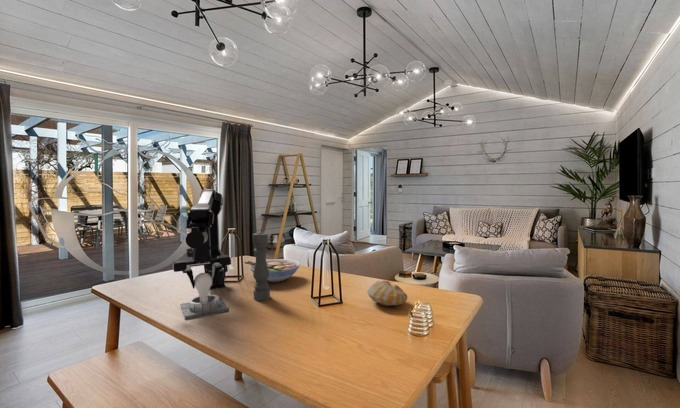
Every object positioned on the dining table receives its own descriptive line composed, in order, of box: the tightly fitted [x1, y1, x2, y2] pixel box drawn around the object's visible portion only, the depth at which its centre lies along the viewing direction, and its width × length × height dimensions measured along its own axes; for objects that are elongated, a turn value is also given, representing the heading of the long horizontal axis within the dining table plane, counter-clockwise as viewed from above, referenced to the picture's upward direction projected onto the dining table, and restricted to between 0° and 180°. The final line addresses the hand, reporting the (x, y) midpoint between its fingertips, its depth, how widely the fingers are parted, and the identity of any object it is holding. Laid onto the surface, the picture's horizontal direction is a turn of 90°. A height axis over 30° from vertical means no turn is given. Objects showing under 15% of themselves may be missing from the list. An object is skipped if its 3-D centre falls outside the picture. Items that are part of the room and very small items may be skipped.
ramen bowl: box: [243, 258, 301, 283], centre depth 157 cm, size 25×23×8 cm
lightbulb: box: [194, 272, 212, 303], centre depth 122 cm, size 6×6×11 cm
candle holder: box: [252, 232, 271, 302], centre depth 132 cm, size 6×6×25 cm
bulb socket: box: [180, 294, 230, 320], centre depth 122 cm, size 14×14×4 cm
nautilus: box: [366, 279, 408, 307], centre depth 127 cm, size 8×22×15 cm
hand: (203, 286), depth 122 cm, fingers closed on lightbulb, 6 cm apart
